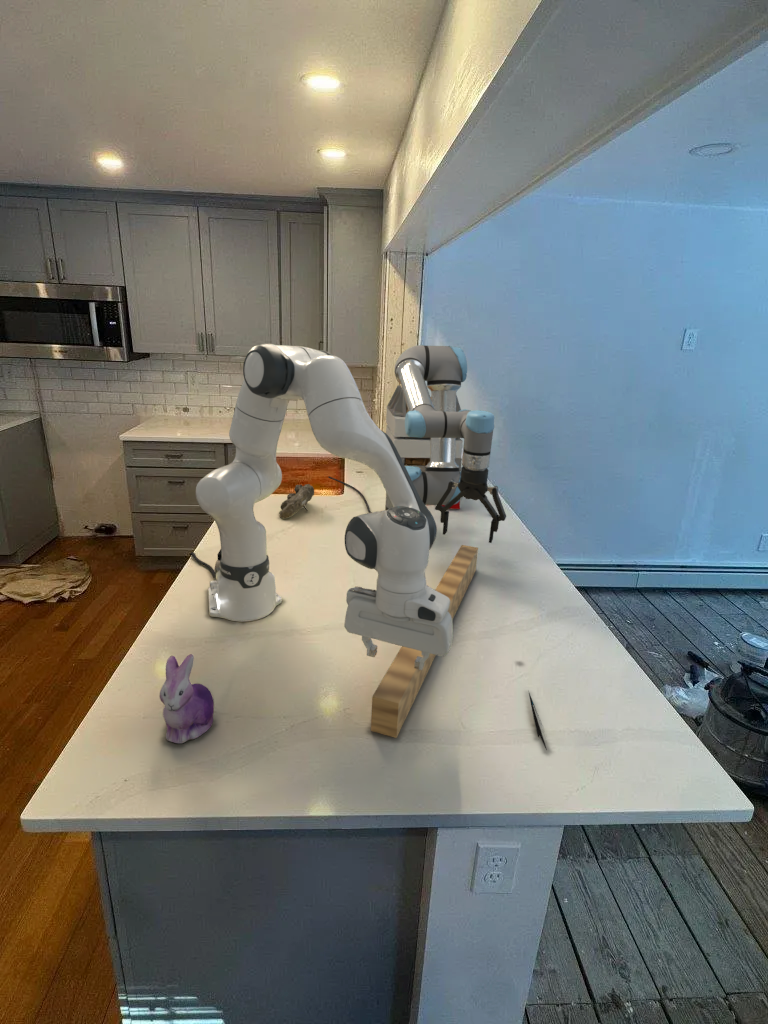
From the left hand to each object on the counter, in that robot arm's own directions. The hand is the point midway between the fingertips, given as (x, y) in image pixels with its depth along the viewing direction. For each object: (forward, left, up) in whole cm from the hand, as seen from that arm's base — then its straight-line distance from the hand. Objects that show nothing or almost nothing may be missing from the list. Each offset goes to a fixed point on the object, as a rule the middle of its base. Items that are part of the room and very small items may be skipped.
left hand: (395, 661), depth 107 cm
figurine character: (-76, -12, -12) cm, 78 cm away
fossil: (-117, +24, -12) cm, 120 cm away
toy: (-108, +86, -12) cm, 139 cm away
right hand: (-44, +50, 0) cm, 66 cm away
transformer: (-145, +97, -12) cm, 175 cm away
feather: (+9, +27, -12) cm, 31 cm away
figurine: (-13, -36, -12) cm, 40 cm away
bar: (-22, +25, -12) cm, 35 cm away
